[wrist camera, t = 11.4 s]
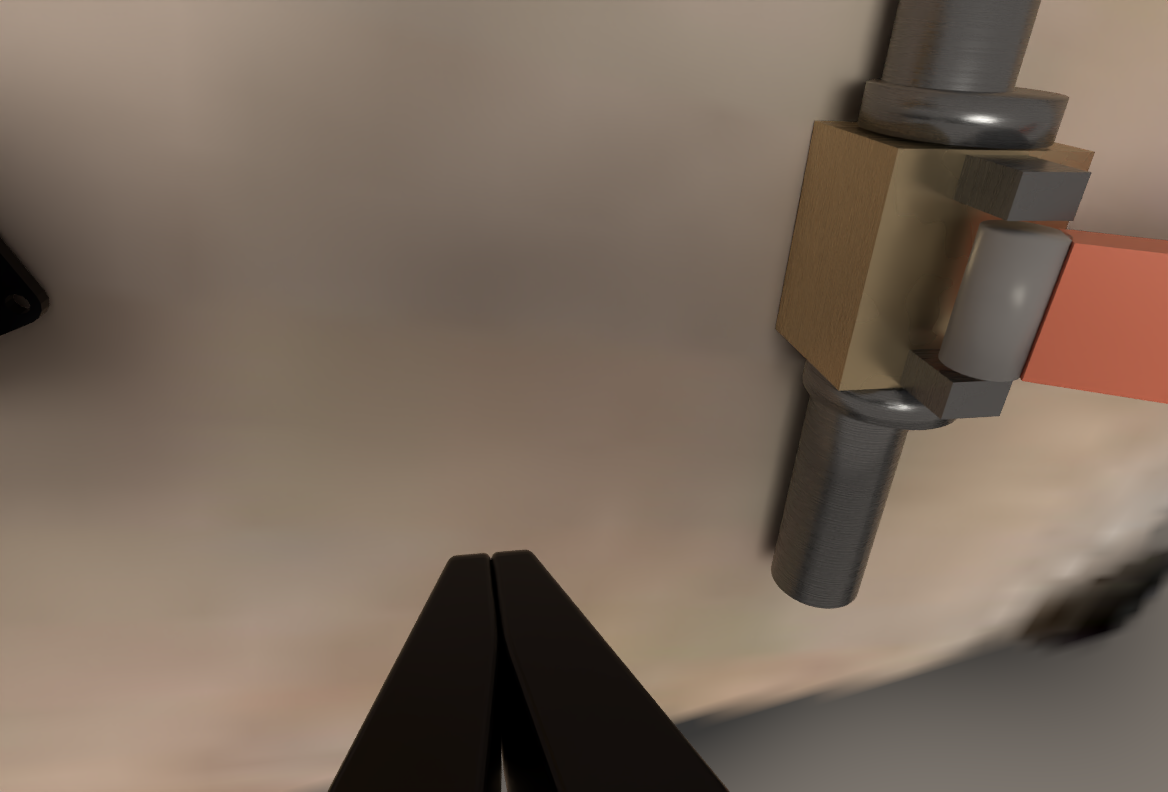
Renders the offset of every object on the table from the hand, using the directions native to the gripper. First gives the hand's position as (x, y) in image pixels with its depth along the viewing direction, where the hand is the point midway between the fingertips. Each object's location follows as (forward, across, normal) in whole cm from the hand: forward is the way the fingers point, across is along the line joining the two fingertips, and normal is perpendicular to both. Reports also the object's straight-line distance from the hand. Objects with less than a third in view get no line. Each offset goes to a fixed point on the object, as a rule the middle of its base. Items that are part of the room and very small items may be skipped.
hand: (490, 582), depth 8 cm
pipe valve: (+13, -12, 0) cm, 18 cm away
